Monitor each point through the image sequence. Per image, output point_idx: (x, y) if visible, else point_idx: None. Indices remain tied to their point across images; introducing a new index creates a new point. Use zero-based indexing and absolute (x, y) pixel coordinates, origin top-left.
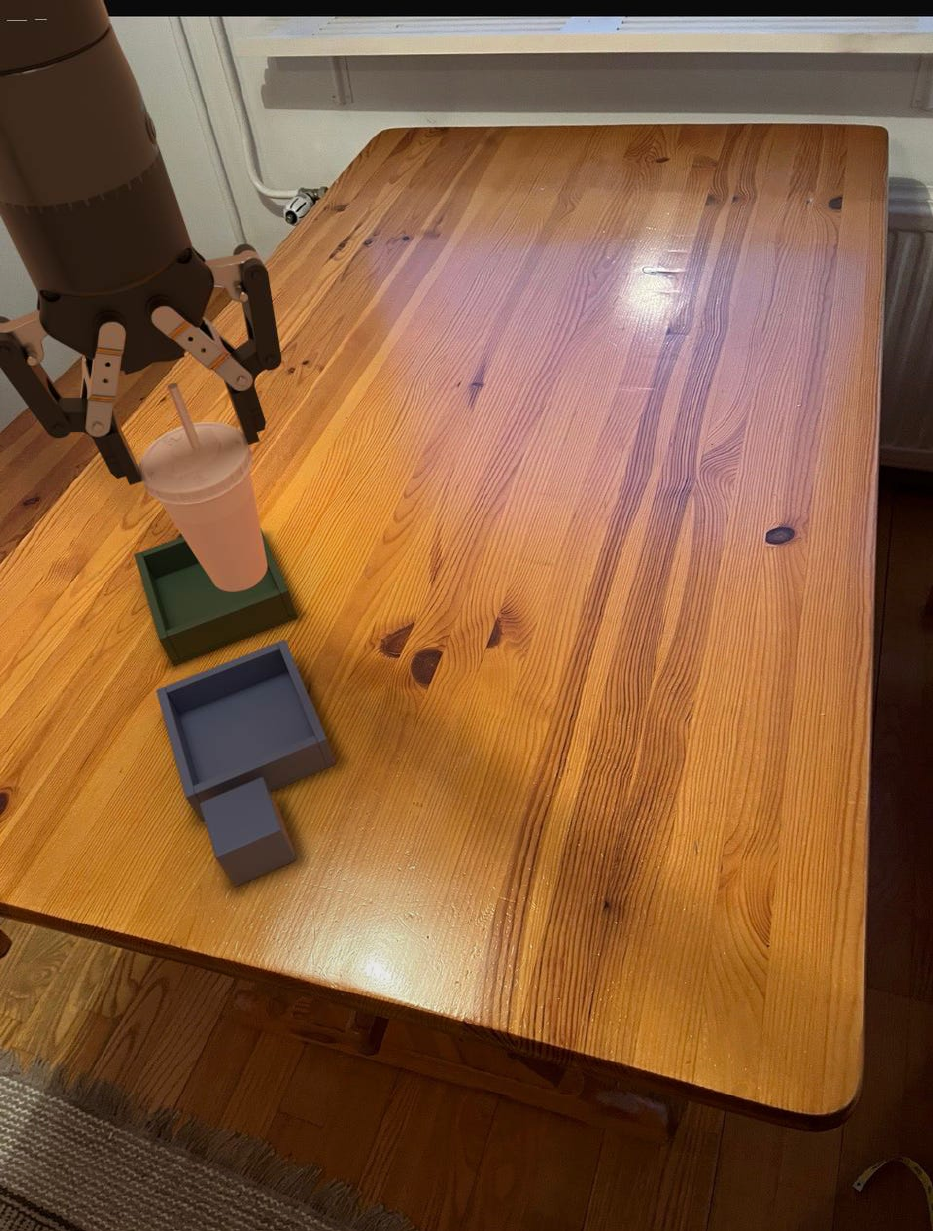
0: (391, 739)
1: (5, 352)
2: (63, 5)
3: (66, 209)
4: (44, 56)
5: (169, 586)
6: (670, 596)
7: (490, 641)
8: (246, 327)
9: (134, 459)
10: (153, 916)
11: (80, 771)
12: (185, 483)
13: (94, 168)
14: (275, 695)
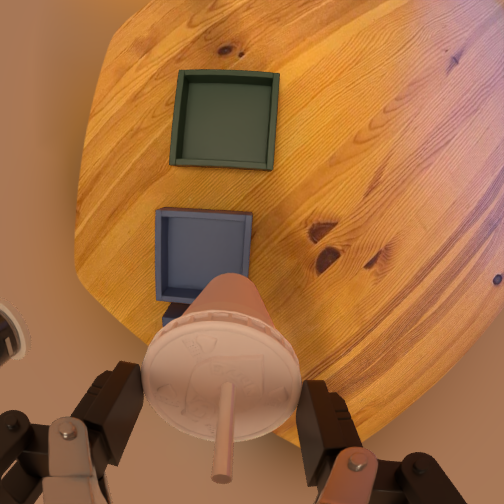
0: (282, 297)
1: None
2: None
3: None
4: None
5: (196, 94)
6: (450, 287)
7: (367, 264)
8: (415, 496)
9: (135, 384)
10: (133, 324)
11: (108, 219)
12: (196, 425)
13: None
14: (230, 232)
